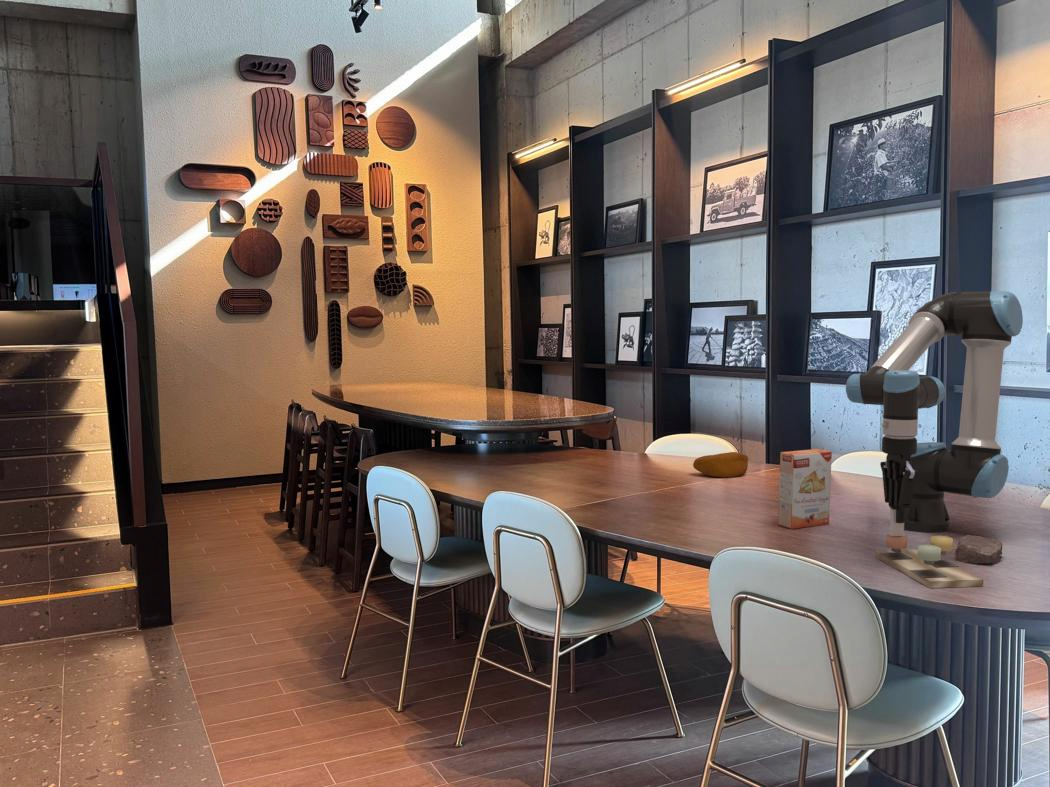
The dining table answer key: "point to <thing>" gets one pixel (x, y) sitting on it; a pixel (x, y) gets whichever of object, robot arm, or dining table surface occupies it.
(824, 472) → the cracker box
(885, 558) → the board
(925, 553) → the sage button
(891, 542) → the terracotta button
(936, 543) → the ochre button
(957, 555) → the stone
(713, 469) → the bread
